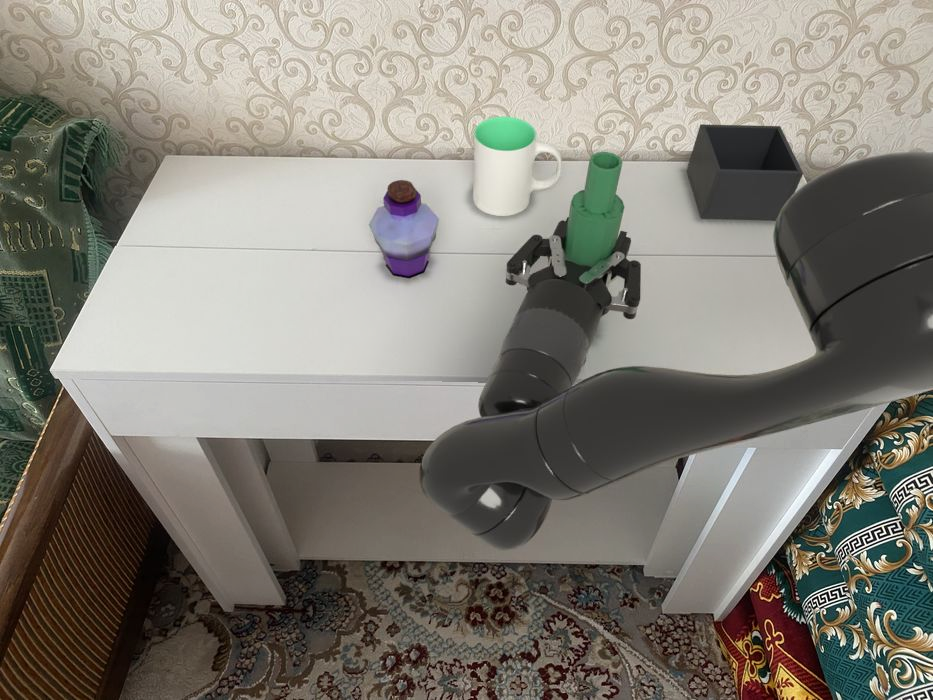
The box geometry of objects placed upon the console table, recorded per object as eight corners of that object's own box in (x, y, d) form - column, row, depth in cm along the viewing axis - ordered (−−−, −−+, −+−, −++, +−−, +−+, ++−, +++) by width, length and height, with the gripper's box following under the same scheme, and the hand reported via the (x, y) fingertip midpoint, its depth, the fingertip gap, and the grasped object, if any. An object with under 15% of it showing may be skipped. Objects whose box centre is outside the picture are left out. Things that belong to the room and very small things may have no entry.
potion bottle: (454, 259, 89) (453, 182, 80) (411, 296, 85) (405, 220, 76) (403, 233, 92) (397, 156, 83) (360, 267, 88) (348, 190, 79)
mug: (554, 180, 100) (562, 116, 92) (560, 215, 95) (569, 150, 87) (472, 181, 100) (473, 116, 92) (473, 216, 95) (475, 151, 87)
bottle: (600, 316, 83) (638, 151, 65) (590, 347, 80) (628, 182, 62) (558, 305, 84) (585, 140, 66) (547, 335, 81) (572, 170, 63)
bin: (761, 172, 102) (780, 125, 96) (781, 220, 95) (803, 173, 89) (686, 171, 102) (700, 124, 96) (700, 219, 95) (716, 171, 89)
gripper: (632, 335, 59) (670, 219, 69) (477, 290, 62) (535, 186, 73) (617, 388, 65) (654, 273, 75) (475, 344, 68) (530, 240, 78)
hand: (595, 230), depth 74 cm, fingers closed on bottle, 5 cm apart
